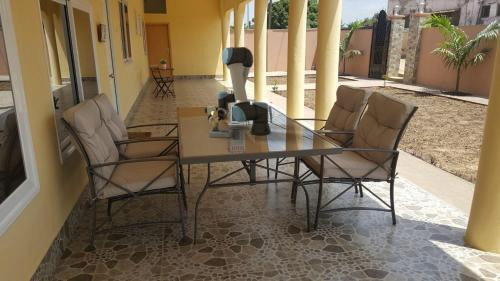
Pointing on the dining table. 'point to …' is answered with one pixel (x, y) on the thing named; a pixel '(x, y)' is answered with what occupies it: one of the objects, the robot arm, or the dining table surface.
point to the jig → (220, 133)
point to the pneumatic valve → (210, 109)
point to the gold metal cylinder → (214, 121)
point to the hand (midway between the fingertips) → (213, 120)
